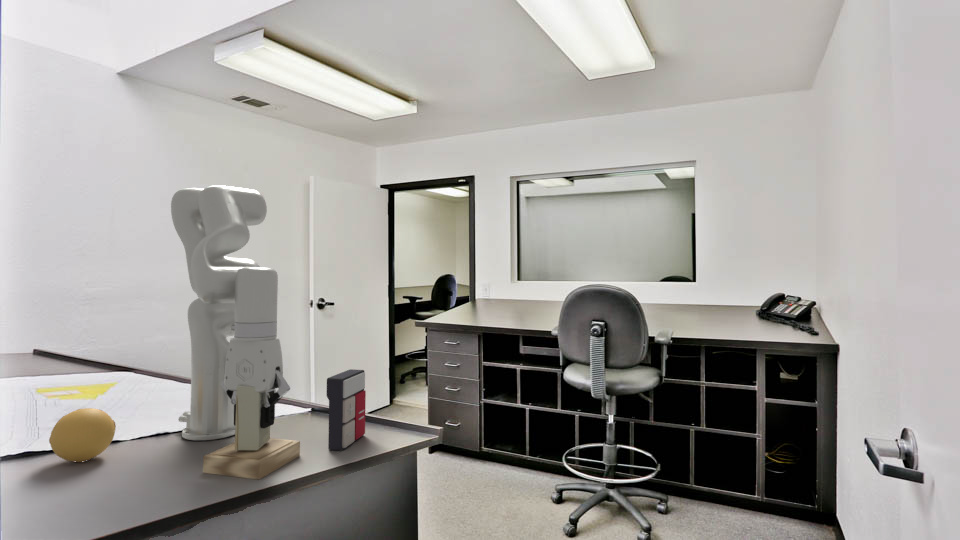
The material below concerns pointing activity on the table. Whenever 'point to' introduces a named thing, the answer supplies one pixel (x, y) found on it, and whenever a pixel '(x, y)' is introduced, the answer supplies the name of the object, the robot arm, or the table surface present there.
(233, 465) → the oak plinth
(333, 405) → the grey red panelled box
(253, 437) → the skincare box
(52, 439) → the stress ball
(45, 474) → the table surface
